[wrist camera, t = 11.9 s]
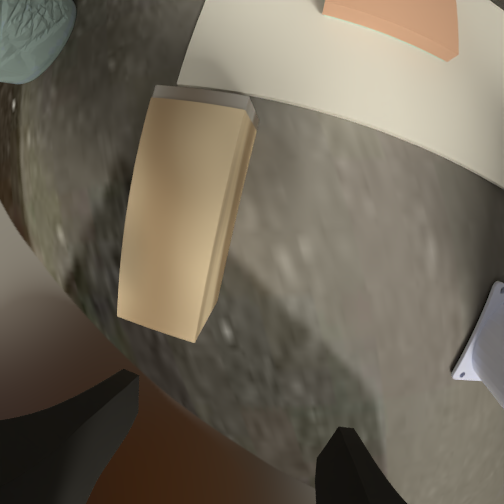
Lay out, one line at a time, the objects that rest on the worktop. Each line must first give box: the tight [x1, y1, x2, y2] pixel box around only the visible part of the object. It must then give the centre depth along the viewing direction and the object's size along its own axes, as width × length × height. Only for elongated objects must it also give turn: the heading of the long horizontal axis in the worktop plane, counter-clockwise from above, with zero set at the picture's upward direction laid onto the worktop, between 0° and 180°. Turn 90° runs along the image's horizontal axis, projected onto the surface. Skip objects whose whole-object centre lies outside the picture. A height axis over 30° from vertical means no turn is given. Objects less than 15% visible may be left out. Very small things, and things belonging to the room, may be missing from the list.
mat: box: [177, 0, 504, 190], centre depth 12 cm, size 22×16×1 cm
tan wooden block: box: [117, 85, 259, 343], centre depth 14 cm, size 4×11×5 cm, turn 167°
